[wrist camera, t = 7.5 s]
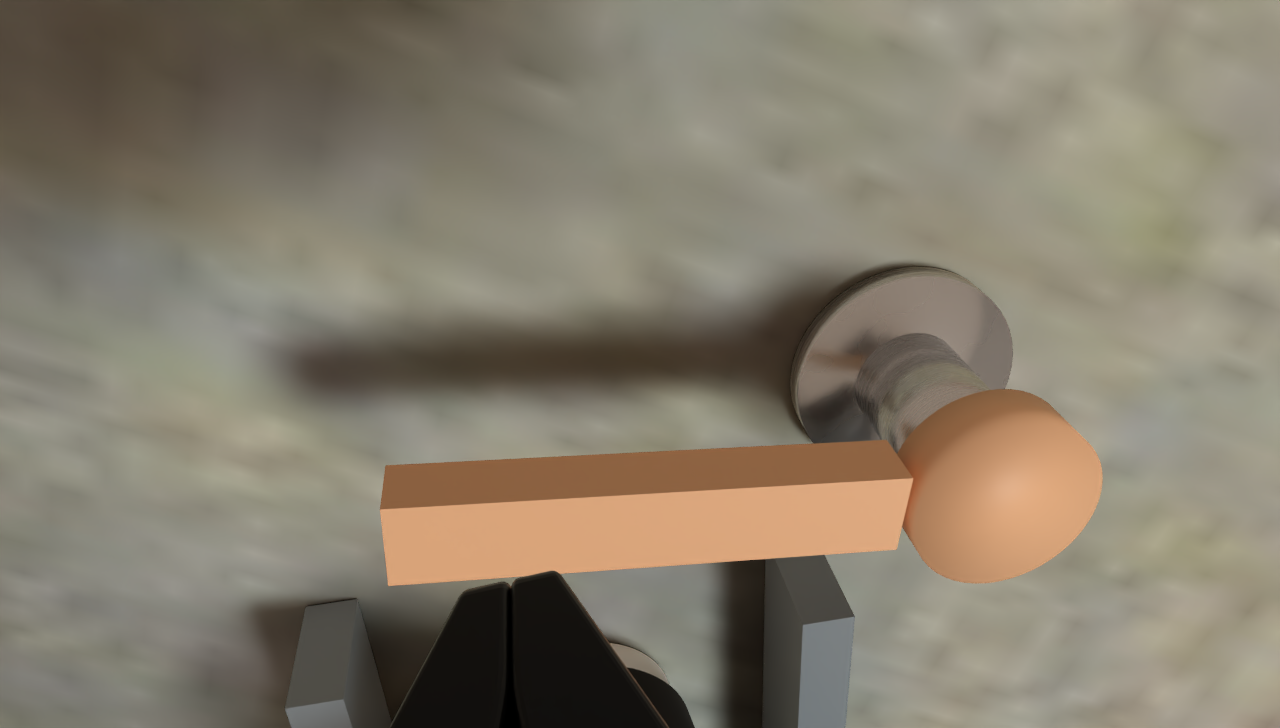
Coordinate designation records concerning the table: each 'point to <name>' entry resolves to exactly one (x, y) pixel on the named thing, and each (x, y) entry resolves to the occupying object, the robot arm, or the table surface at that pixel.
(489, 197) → the table surface
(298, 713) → the holder
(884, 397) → the post
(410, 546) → the lever
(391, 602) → the table surface
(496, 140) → the table surface
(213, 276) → the table surface
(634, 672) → the dixie cup
